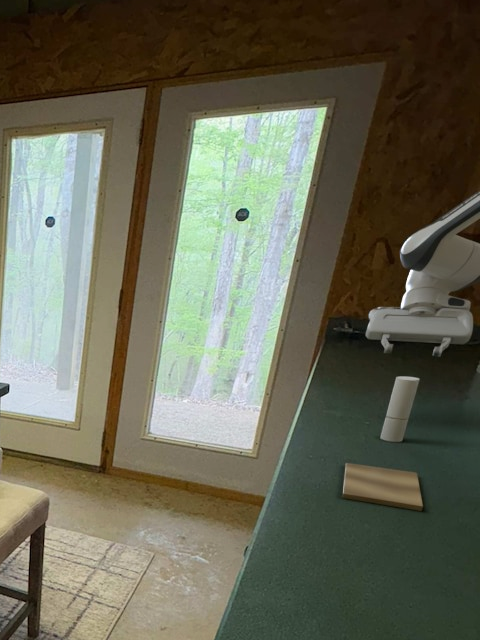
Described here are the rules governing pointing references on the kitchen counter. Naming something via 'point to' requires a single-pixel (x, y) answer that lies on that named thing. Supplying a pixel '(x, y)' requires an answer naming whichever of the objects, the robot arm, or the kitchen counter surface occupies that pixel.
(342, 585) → the kitchen counter surface
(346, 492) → the birch board
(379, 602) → the kitchen counter surface
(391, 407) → the tube
